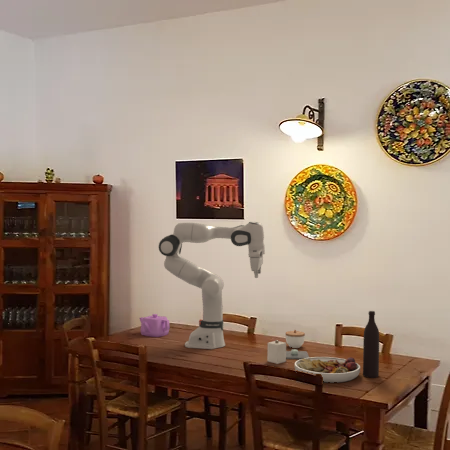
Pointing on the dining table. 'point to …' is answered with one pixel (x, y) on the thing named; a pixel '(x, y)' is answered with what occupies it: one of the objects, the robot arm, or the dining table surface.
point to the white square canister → (276, 352)
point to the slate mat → (300, 355)
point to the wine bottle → (371, 348)
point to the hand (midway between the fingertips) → (257, 275)
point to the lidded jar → (295, 338)
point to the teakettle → (154, 326)
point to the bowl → (330, 368)
